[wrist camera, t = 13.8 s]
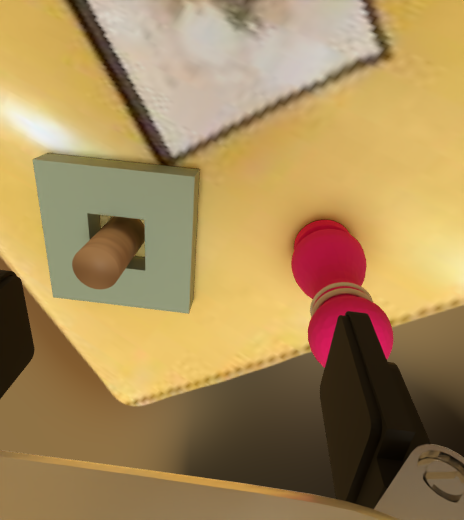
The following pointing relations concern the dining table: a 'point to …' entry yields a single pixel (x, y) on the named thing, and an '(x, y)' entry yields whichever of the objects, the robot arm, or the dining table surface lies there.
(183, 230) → the socket board
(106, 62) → the dining table surface
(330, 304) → the pepper mill
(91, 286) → the walnut peg
